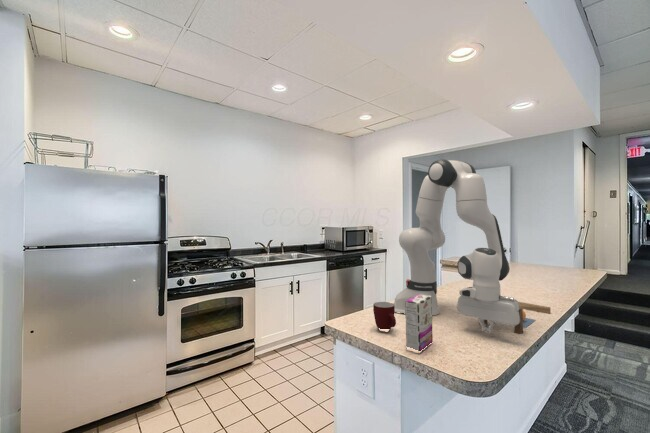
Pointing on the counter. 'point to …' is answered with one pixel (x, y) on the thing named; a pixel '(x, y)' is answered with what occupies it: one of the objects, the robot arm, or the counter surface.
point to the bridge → (517, 328)
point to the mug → (384, 315)
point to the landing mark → (527, 322)
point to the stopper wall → (535, 307)
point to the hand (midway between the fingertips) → (487, 331)
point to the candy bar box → (418, 322)
